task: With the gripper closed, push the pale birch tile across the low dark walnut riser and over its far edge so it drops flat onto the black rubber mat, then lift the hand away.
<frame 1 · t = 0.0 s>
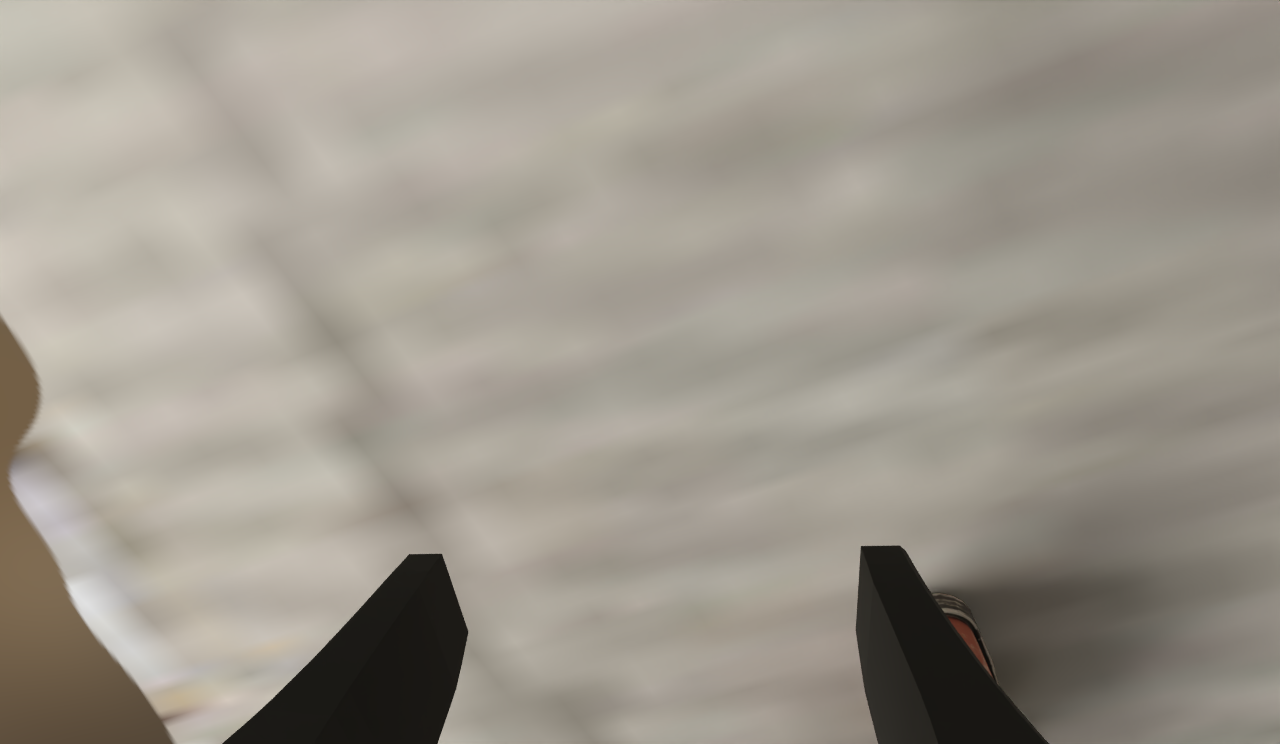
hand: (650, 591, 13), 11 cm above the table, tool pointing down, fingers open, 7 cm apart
lighter: (941, 681, 26), on the table
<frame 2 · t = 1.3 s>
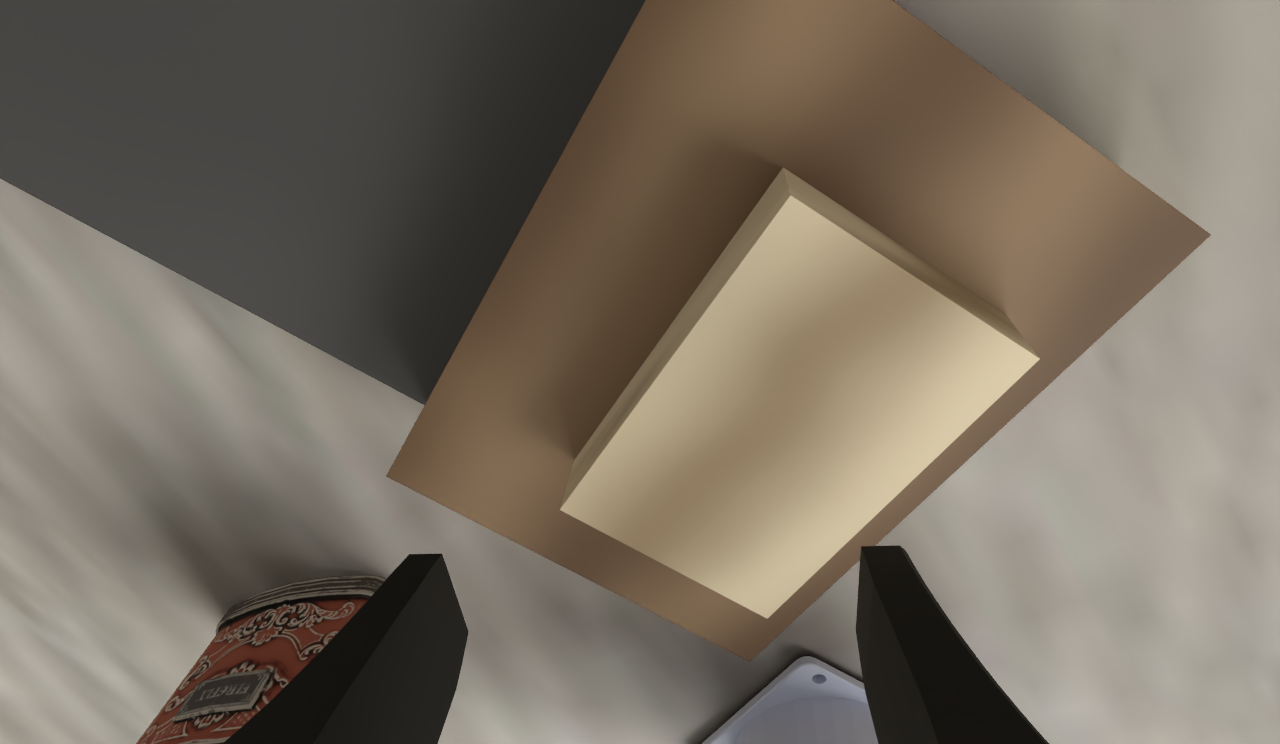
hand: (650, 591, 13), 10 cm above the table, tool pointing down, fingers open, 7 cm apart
birch tile: (771, 393, 18), point 4 cm above the table, touching walnut riser
walnut riser: (735, 303, 21), on the table
lighter: (319, 609, 30), on the table
rubber mat: (307, 41, 19), on the table
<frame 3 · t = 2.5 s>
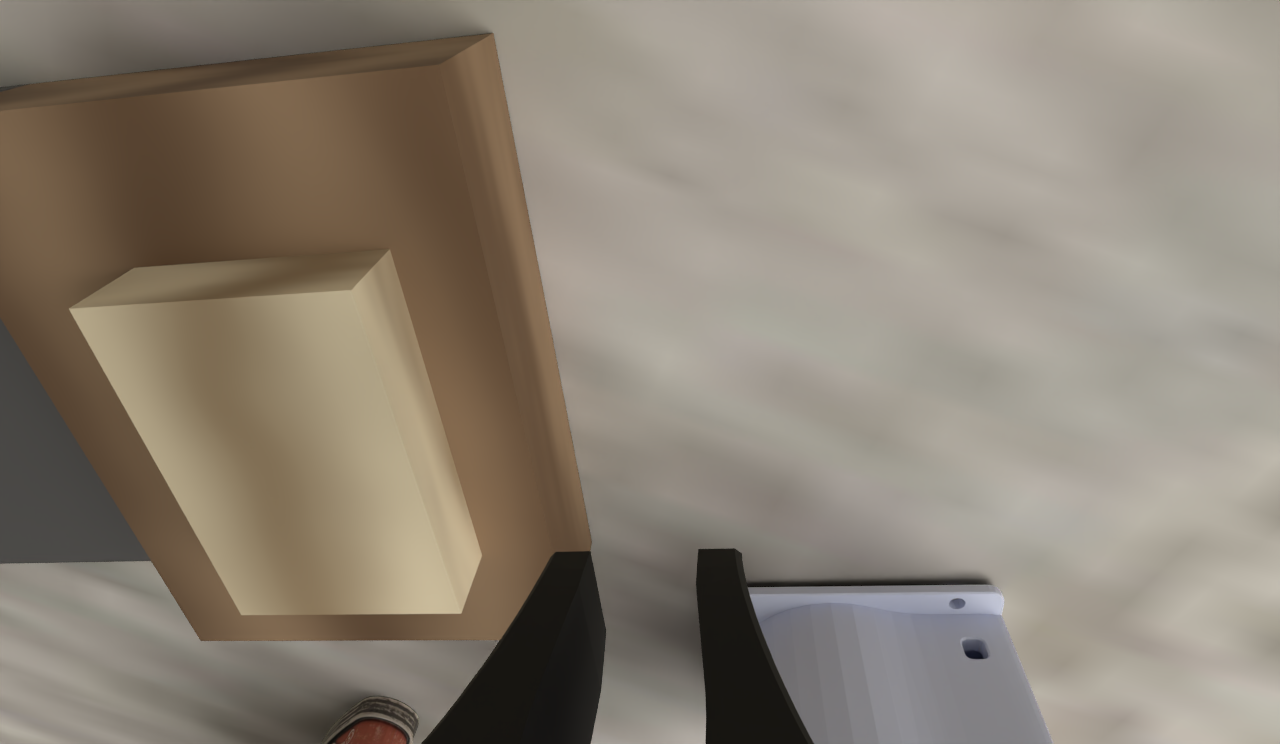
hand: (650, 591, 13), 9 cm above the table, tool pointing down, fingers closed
birch tile: (326, 426, 19), point 4 cm above the table, touching walnut riser
walnut riser: (353, 348, 22), on the table
lighter: (366, 740, 33), on the table
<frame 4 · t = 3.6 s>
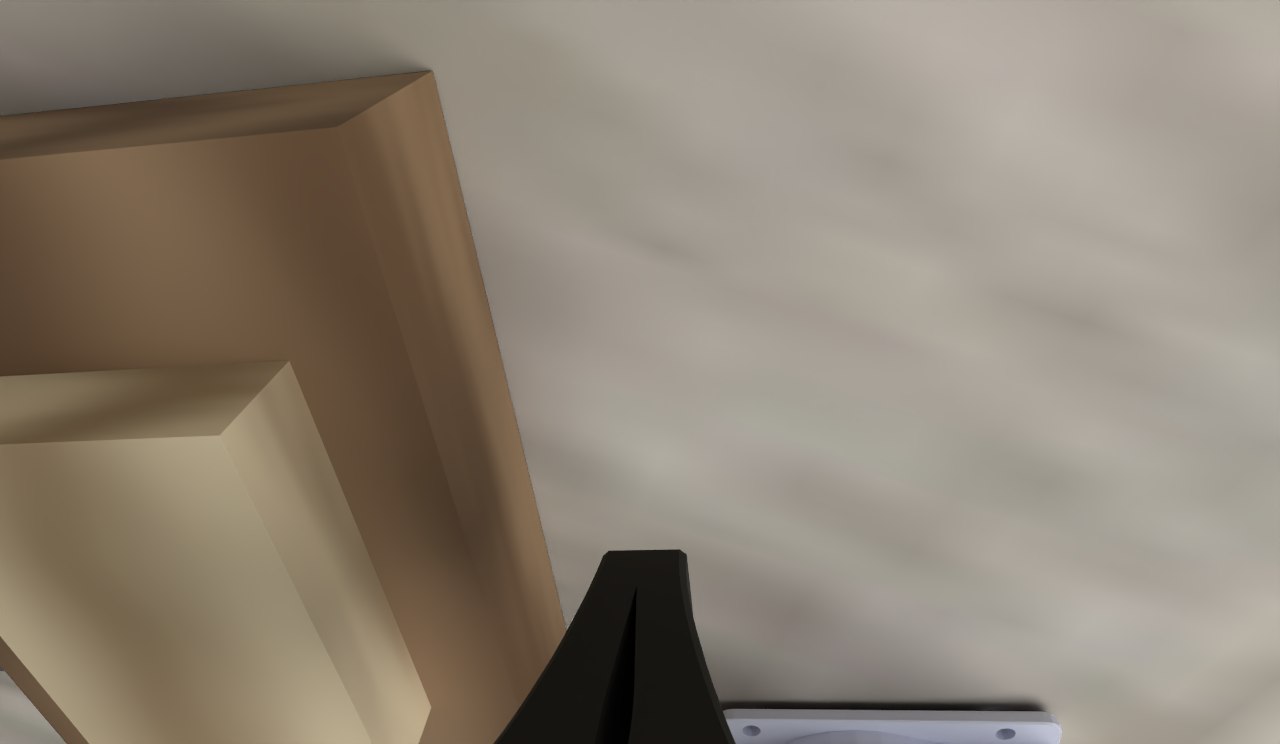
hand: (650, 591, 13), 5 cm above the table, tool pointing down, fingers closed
birch tile: (227, 564, 15), point 4 cm above the table, touching walnut riser
walnut riser: (280, 442, 18), on the table
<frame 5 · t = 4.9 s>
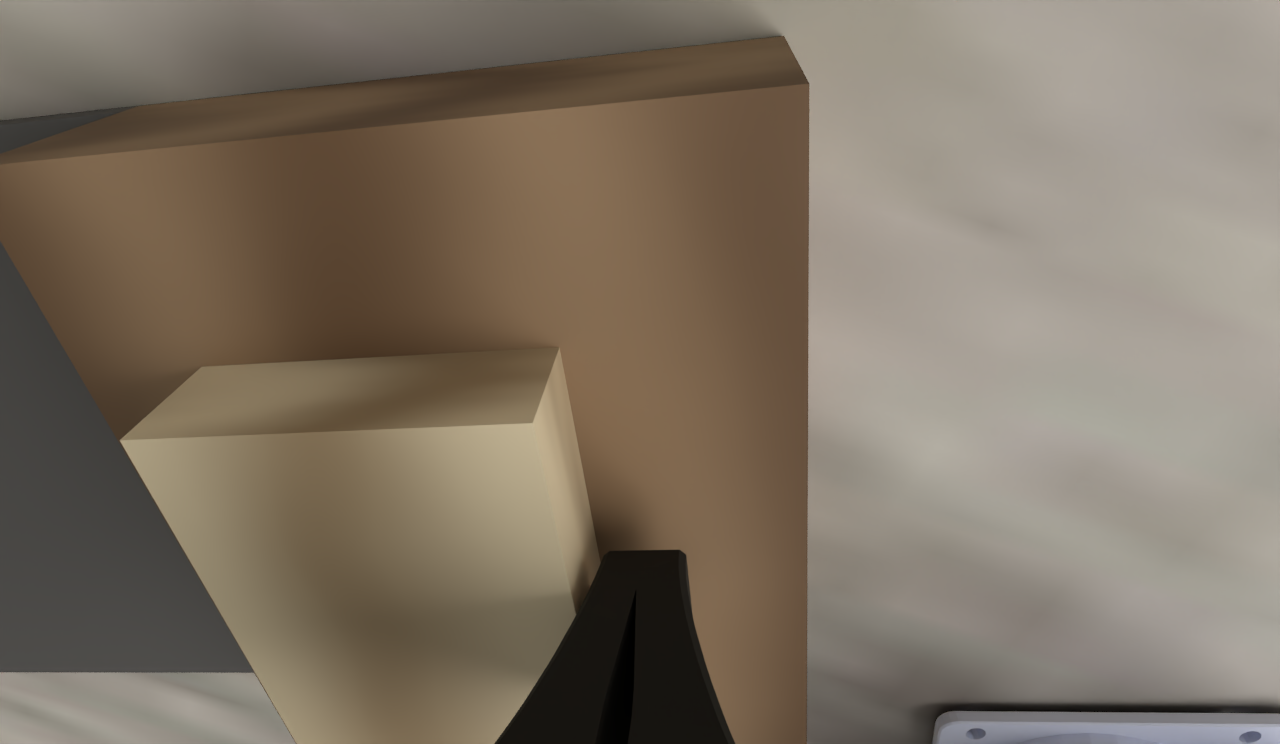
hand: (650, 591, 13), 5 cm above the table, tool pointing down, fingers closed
birch tile: (444, 561, 14), point 4 cm above the table, touching gripper, walnut riser
walnut riser: (527, 434, 18), on the table
rubber mat: (35, 454, 19), on the table
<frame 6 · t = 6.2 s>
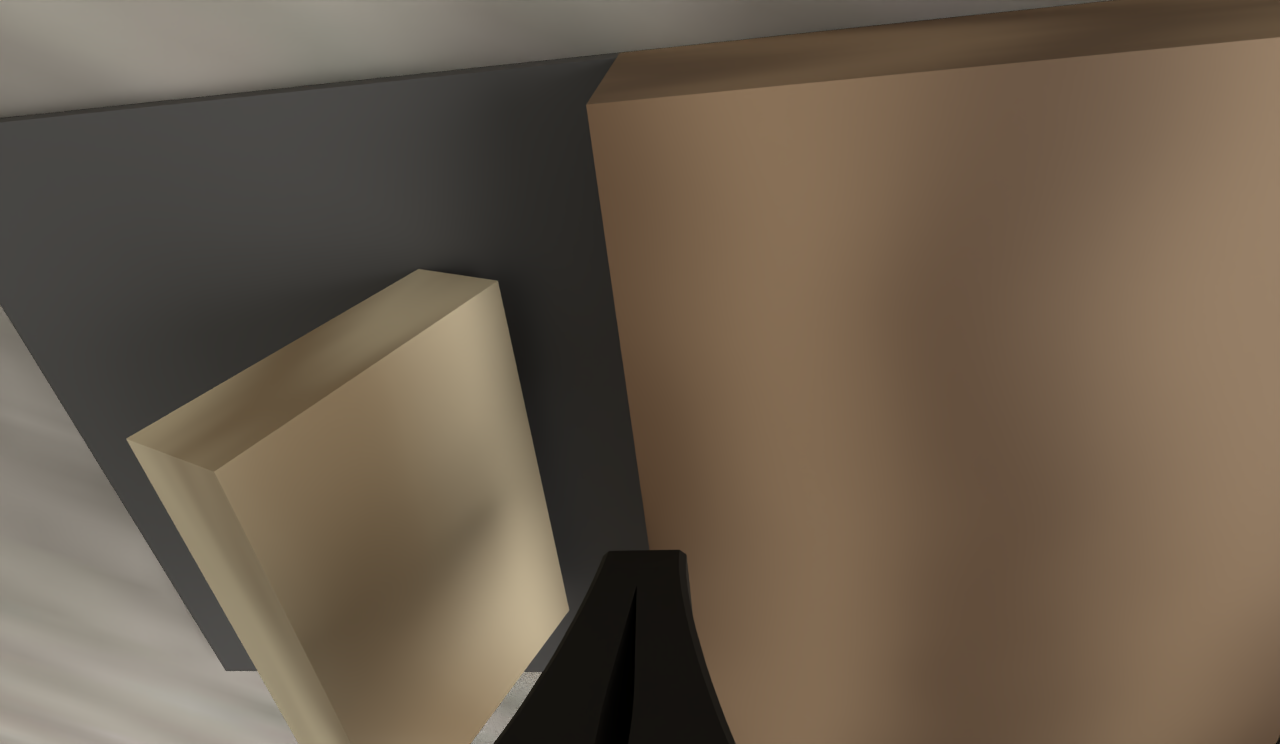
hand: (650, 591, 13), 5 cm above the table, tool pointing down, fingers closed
birch tile: (448, 562, 14), point 4 cm above the table, tilted 113°, touching rubber mat
walnut riser: (937, 417, 16), on the table
rubber mat: (373, 439, 18), on the table
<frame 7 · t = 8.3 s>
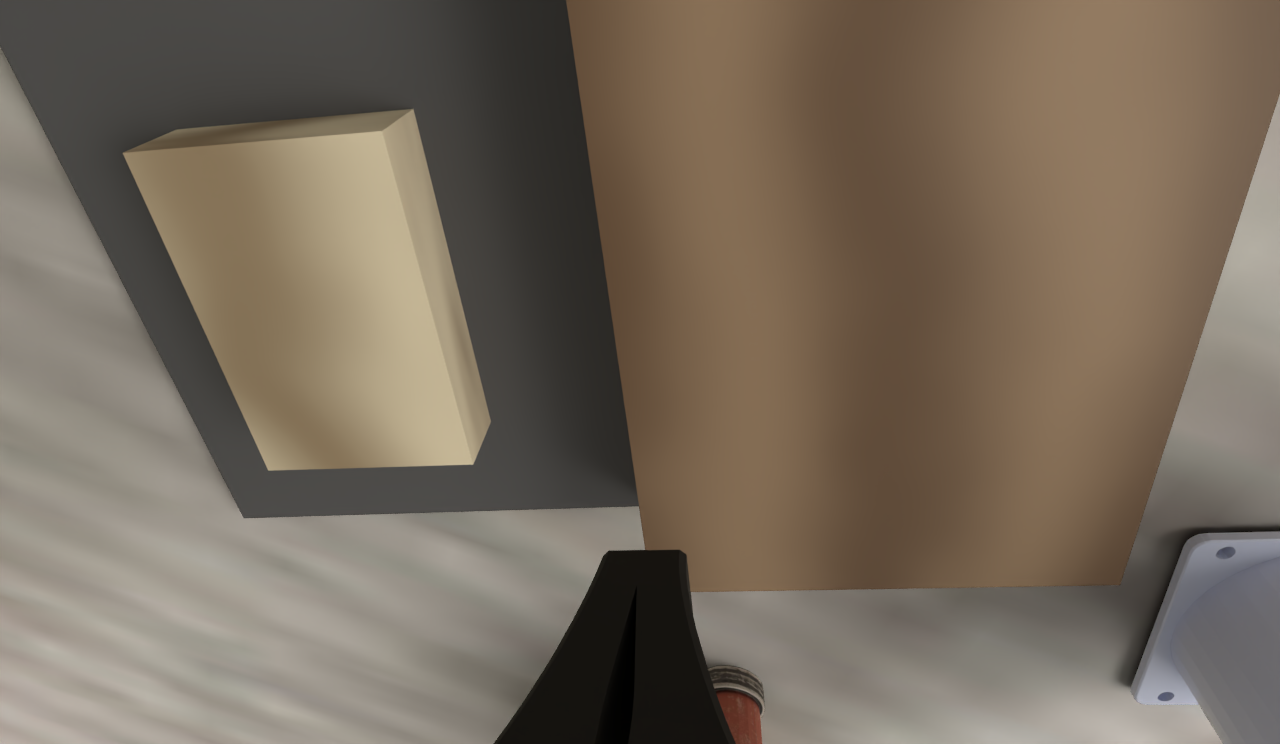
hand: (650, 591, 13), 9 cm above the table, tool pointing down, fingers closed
birch tile: (316, 325, 19), point 2 cm above the table, tilted 180°, touching rubber mat
walnut riser: (865, 247, 19), on the table
lighter: (687, 716, 30), on the table
rubber mat: (378, 281, 21), on the table
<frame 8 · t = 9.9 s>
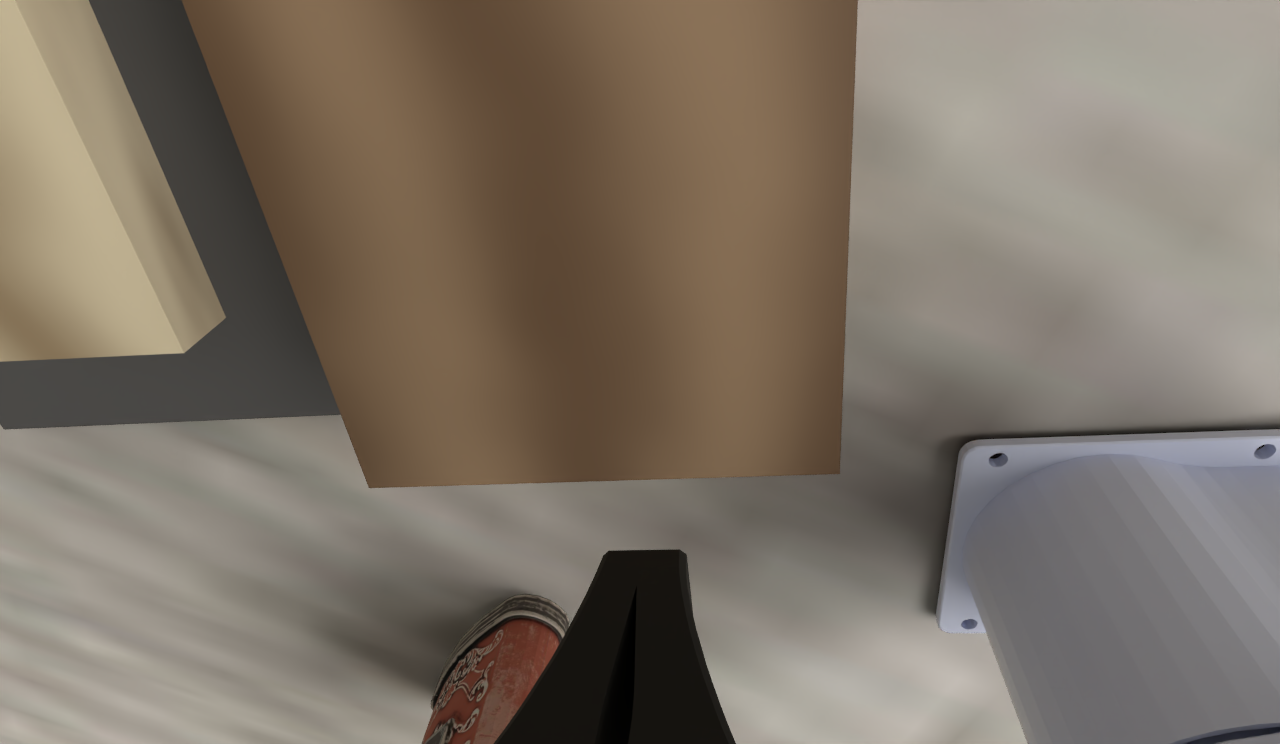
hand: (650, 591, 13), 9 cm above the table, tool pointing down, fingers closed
walnut riser: (570, 116, 18), on the table
lighter: (501, 652, 29), on the table
rubber mat: (87, 161, 20), on the table
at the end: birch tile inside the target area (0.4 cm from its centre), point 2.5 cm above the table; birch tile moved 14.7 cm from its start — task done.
